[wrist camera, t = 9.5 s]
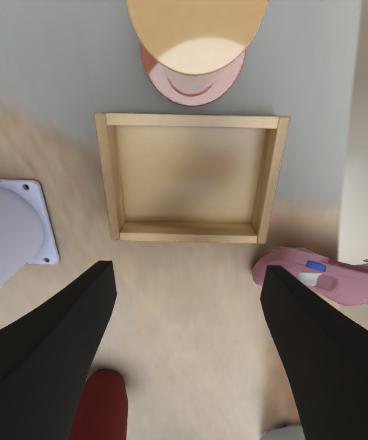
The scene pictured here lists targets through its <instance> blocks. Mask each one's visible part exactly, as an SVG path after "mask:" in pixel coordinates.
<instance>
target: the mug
mask: <svg viewBox="0 0 368 440" xmlns="http://www.w3.org/2000/svg"><path fill="white" fill-rule="evenodd" d="M127 417H128V399H127V393H126V389H125V384H124V380H123V378H122V376H121V375H120V374H119V373H117V372H115V371H112V370H99V371H97V372H95V373H94V374H93V375H92V376H91V377H90V378H89V379H88V380H87V381H86V382H85V383H84V387H83V390H82V393H81V396H80V399H79V403H78V406H77V410H76V413H75V416H74V420H73V423H72V427H71V430H70V434H69V437H68V440H126V434H127Z"/></svg>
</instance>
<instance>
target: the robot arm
mask: <svg viewBox="0 0 368 440" xmlns="http://www.w3.org/2000/svg"><path fill="white" fill-rule="evenodd" d="M25 184H27V185H28V186H29V189H28V188H27V187H26V186H25ZM47 258H48V259H49V260H48V259H47ZM58 261H59V255H58V251H57V248H56V244H55V240H54V236H53V232H52V228H51V224H50V220H49V217H48V213H47V209H46V205H45V201H44V197H43V193H42V189H41V186H40V184H39V183H38V182H37V181H35V180H10V179H0V288H1V287H2V286H3V285H4V284H5V283H6V282H7V281H8V280H9V279H10V278H11V277H12V276H13V275H14V274H16V273H17V272H18V271H19V270H20V269H21V268H22V267H23V266H24V265H25V264H53V265H54V264H57V263H58ZM116 296H117V291H116V284H115V277H114V270H113V263H112V261H98V262H97V263H95V264H94V265H93V266H91V267H90V268H89V269H88V270H86V271H85V272H84V273H83V274H82V275H80V276H79V277H78V278H76V279H75V280H74V281H73V282H71V283H70V284H69V285H68V286H66V287H65V288H64V289H62V290H61V291H60V292H58V293H57V294H55V295H54V296H53V297H51V298H50V299H48V300H47V301H46V302H44V303H43V304H41V305H40V306H38V307H37V308H35V309H34V310H32V311H31V312H29V313H28V314H26V315H24V316H23V317H21V318H20V319H18V320H16V321H15V322H13V323H11V324H10V325H8V326H6V327H4V328H2V329H0V440H68V437H69V434H70V430H71V427H72V423H73V420H74V416H75V413H76V410H77V406H78V403H79V399H80V396H81V393H82V390H83V387H84V383H85V380H86V377H87V374H88V371H89V369H90V366H91V363H92V361H93V359H94V356H95V354H96V351H97V349H98V346H99V344H100V342H101V339H102V337H103V334H104V332H105V330H106V327H107V325H108V322H109V320H110V317H111V315H112V311H113V308H114V304H115V300H116ZM260 300H261V304H262V309H263V312H264V316H265V320H266V322H267V325H268V328H269V330H270V333H271V335H272V338H273V340H274V343H275V345H276V348H277V351H278V353H279V356H280V358H281V361H282V363H283V366H284V368H285V371H286V374H287V377H288V379H289V382H290V386H291V389H292V393H293V396H294V399H295V403H296V406H297V410H298V413H299V417H300V421H301V424H302V428H303V432H304V435H305V439H306V440H368V330H366V329H365V328H363V327H362V326H360V325H359V324H357V323H355V322H354V321H352V320H351V319H349V318H348V317H347V316H345V315H344V314H342V313H341V312H340V311H338V310H337V309H335V308H334V307H333V306H331V305H330V304H329V303H327V302H326V301H325V300H323V299H322V298H321V297H319V296H318V295H317V294H316V293H314V292H313V291H312V290H311V289H309V288H308V287H307V286H306V285H304V284H303V283H302V282H301V281H300V280H298V279H297V278H296V277H295V276H294V275H292V274H291V273H290V272H289V271H287V270H286V269H285V268H284V267H282V266H281V265H267V268H266V273H265V278H264V282H263V287H262V292H261V297H260Z"/></svg>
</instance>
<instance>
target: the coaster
mask: <svg viewBox="0 0 368 440" xmlns="http://www.w3.org/2000/svg"><path fill="white" fill-rule="evenodd" d="M245 53H246V49H245V50H244V51H243V53H242V54H241V55H240V56H239V57H238V58H237V59H236V60H235V61H234V62H232V63H231V64H230V65H228V66H227V67H226V68H225V69H224V70H223V72H222V73H221V74H220V75H219V76H218V77H217V78H216V79H215V80H214V81H213V82H212V83H210V84H209V85H207V86H205V87H202V88H198V89H186V88H182V87H180V86H178V85H176V84H175V83H173V82H172V81H171V80H170V79H169V78H168V77H167V76H166V75H165V73H164V72H163V70H162V69H161V67H160V66H159V64H158V62H157V61H156V60H155V59H154V58H153V57H152V56H151V55H150V54H149V52H148V51H147V50H146V48H145V47H144V46H143V44H142V43H141V54H142V59H143V63H144V66H145V69H146V72H147V74H148V76H149V78H150V80H151V81H152V83H153V85H154V86H155V87H156V88H157V90H158V91H159V92H160V93H161V94H162V95H164V96H165V97H166V98H168V99H169V100H171V101H173V102H175V103H178V104H180V105H185V106H200V105H205V104H207V103H210V102H212V101H214V100H216V99H218V98H219V97H220V96H222V95H223V94H224V93H225V92H226V91H227V90H228V89H229V88H230V87H231V86H232V84H233V83H234V81H235V80H236V78H237V76H238V74H239V73H240V70H241V68H242V65H243V62H244V58H245Z"/></svg>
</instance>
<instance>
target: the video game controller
mask: <svg viewBox="0 0 368 440" xmlns="http://www.w3.org/2000/svg"><path fill="white" fill-rule="evenodd" d="M363 261H365V262H368V259H366V260H363ZM267 265H281V266H282V267H284V268H285V269H286V270H287V271H289V272H290V273H291V274H292V275H294V276H295V277H296V278H297V279H298V280H300V281H301V282H302V283H303V284H304V285H306V286H307V287H308V288H309V289H311V290H312V291H314V292H317V293H320V294H322V295H324V296H325V297H327V298H329V299H331V300H333V301H335V302H337V303H338V304H341V305H345V306H356V305H361V304H368V264H363V265H350V264H346V263H341V262H338V261H333V260H329V258H327V257H324V256H321V255H318V254H315V253H314V252H312V251H310V250H307V249H306V248H302V247H300V248H297V247H295V248H290V247H283V246H280V247H279V249H277V250H275V251H272V252H270V253H268V254H266V255H264V256H263V257H262V258H260V259H259V260H258V261H257V263H256V264H255V266H254V267H253V270H252V276H253V280H254V282H255V283H256V284H258V285H261V286H263V282H264V278H265V273H266V268H267Z"/></svg>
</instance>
